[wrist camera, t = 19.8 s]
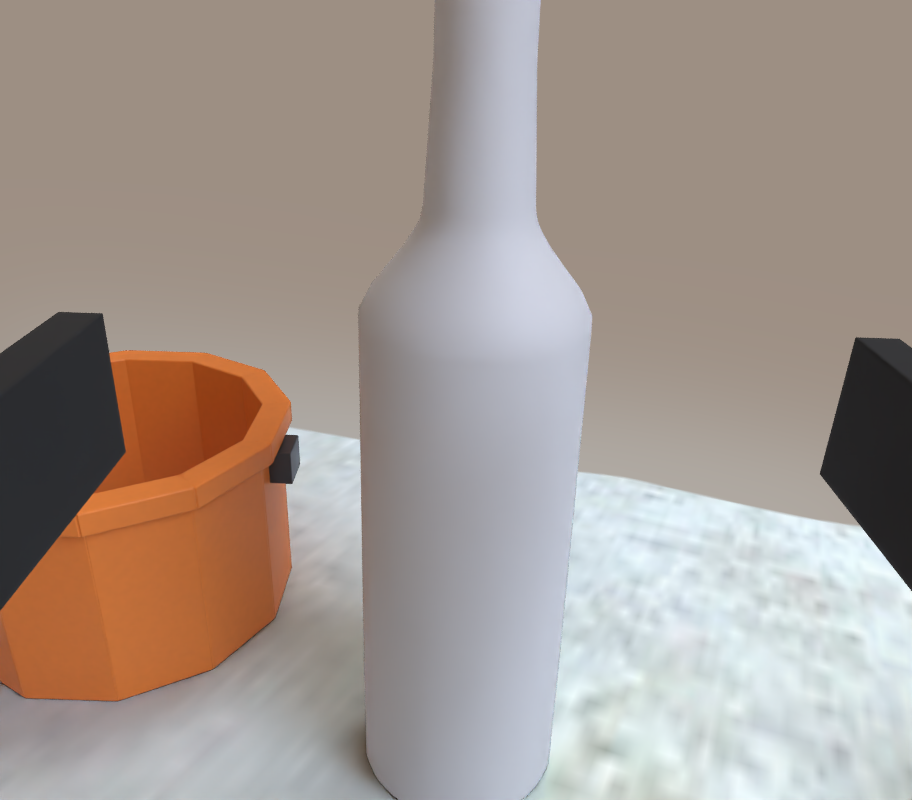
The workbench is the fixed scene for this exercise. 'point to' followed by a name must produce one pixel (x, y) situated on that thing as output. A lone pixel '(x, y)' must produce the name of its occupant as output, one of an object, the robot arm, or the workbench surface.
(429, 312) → the bottle
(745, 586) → the workbench surface
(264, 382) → the bucket
